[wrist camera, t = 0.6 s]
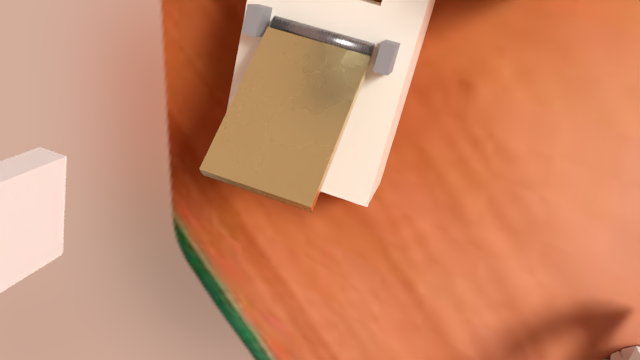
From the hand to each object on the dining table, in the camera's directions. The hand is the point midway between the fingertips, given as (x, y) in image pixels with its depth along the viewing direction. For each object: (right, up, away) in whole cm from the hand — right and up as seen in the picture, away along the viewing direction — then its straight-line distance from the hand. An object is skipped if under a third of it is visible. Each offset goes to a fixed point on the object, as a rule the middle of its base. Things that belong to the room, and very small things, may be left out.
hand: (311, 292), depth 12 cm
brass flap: (-1, +6, +17) cm, 18 cm away
